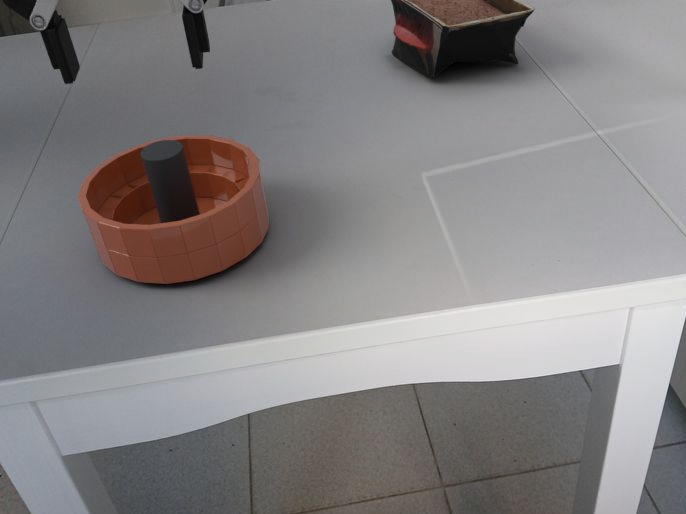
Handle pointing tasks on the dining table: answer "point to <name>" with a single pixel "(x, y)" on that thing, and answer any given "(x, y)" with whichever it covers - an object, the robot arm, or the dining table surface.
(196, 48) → the robot arm
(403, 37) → the black soil planter box
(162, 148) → the dark grey cylinder
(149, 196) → the bowl
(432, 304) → the dining table surface
